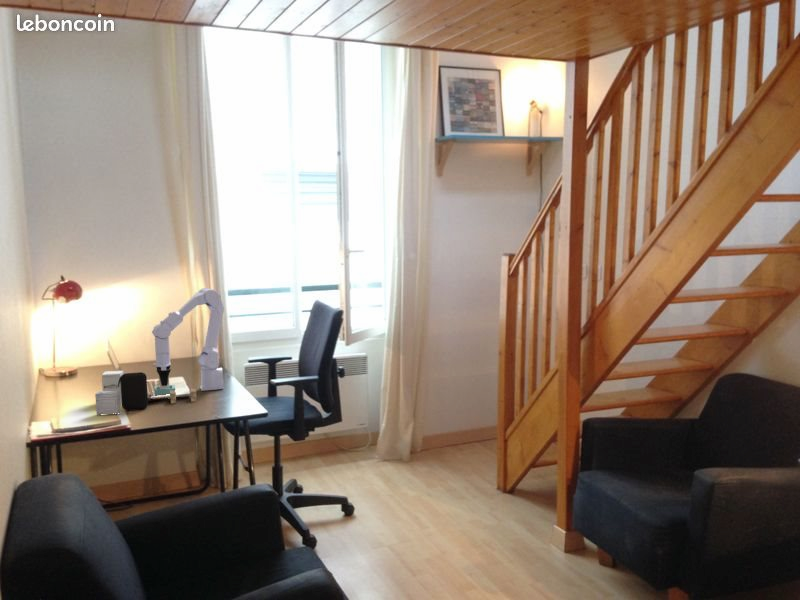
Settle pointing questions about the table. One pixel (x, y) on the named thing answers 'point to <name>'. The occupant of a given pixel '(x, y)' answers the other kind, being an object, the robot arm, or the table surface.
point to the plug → (164, 386)
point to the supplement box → (112, 381)
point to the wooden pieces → (173, 395)
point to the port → (163, 390)
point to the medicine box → (108, 402)
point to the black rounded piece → (134, 391)
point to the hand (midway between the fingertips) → (164, 384)
